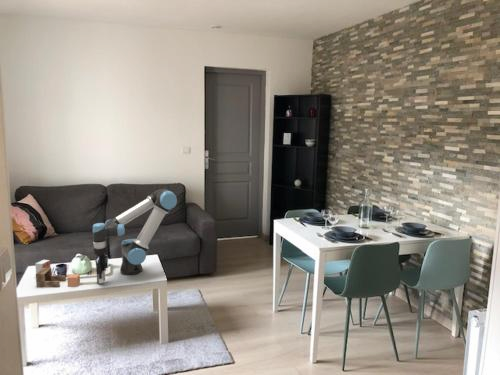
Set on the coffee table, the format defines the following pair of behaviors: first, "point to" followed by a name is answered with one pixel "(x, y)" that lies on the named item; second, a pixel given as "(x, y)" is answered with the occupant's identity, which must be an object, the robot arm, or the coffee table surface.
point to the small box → (42, 265)
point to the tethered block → (78, 280)
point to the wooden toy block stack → (48, 278)
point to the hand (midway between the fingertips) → (102, 281)
